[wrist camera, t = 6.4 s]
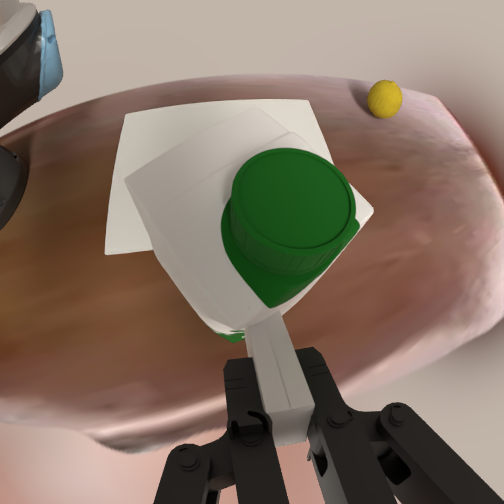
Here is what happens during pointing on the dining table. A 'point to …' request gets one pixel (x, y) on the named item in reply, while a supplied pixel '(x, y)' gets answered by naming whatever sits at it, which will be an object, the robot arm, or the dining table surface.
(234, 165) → the soya milk
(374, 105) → the lemon
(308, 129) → the mat
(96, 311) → the dining table surface
